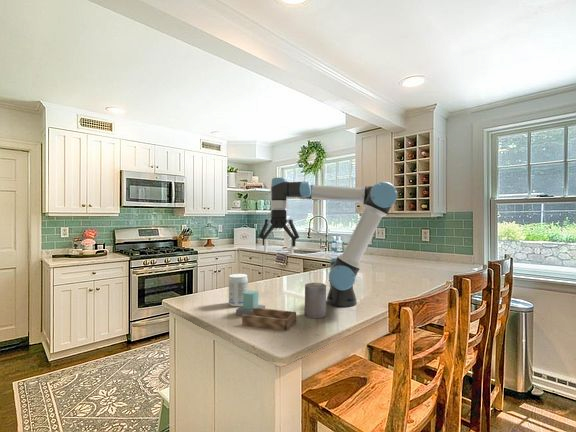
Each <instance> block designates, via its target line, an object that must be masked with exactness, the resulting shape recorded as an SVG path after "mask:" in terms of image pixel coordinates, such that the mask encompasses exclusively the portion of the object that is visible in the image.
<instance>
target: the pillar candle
mask: <svg viewBox="0 0 576 432" xmlns="http://www.w3.org/2000/svg"><path fill="white" fill-rule="evenodd" d="M326 315H327V285H326V284H325V283H322V282H316V281H315V282H308V283H305V284H304V316H305V317H306V318H309V319H322V318H325V317H326Z"/></svg>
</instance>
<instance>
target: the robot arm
mask: <svg viewBox="0 0 576 432" xmlns="http://www.w3.org/2000/svg"><path fill="white" fill-rule="evenodd" d="M270 185H271V186H270V190H271V192H270V195H271V202H270V203H271V204H270V208H271V210H270V211H271V212H270V213H271V214H270V215H271V216H270V217H271V218H270V219H268V218H267V219H264V224H263V226H262V228H261V230H260V232H259V235H258V237H259V238H261V239H262V246H264V247H263V248H264V249H263V253H268V252H269V249H268V247H269V245H268V243H269V242H268V237H269V236H270V234H272V232H273V231H274V230H275V229H283V230H284V231H285V233H286V234H287V235H288V236H289V237H290V241H289V242H290V243H289V244H290V245H289V247H290V248H289V249H290V250H289V251H290V252H289V253H290V254H291V255H292V254H294V250H295V249H294V247H296V241H297V239H300V236H299V235H300V234H299V233H298V231H297V229H296V227H295V225H294V220H293V219H291V218H290V219H287V208H288V207H287V206H288V205H287V201H288V200H287V198H298V199H300V200H318V201H319V200H320V201H328V202H329V201H334V202H345V203H346V202H347V203H356V204H357V203H358V204H361V205H362V206H363V207H364V210H363V213H362V214H361V217H360V218H359V220H358V222H357V223H356V226H355V228H354V230H353V233H352V235H350V238H349V240H348V243H347V244H346V247H345V248H344V250H343V252H342V254H340V255H337V257H336V258H335V257H332V258H331V259H330V261H329V265H330V266H329V273H328V281H329V282H330V285H329V289H328V292H327V295H326V304H328V305H330V306H335V307H343V308H345V307H346V308H347V307H353V306H355V305H357V297H356V293H355V291H354V284H355V282H356V277H357V275H358V273H359V271H360V269H361V265H360V262H361V259H362V258H363V256H364V254H365V252H366V250H367V248H368V246H369V245H370V242H371V240H372V238H373V236H374V234H375V232H376V230H377V228H378V227H379V224H380V222H381V220H382V218H384V217H386V216H388V214H389V213H390V210H391V208H392V206H393V205H394V204H395V203H396V201H397V200H398V190H397V189H396V187H395V185H394V184H392V183H390V182H388V181H380V182H377V183H375V184H374V185H371V186H370V185H369V186H368V185H367V186H366V185H363V186H362V187H351V186H334V185H332V186H331V185H322V184H321V185H320V184H317V185H315V184H312V183H311V182H310V181H287V178H286V177H273V178H272V179H271V184H270ZM269 224H271V225H270V227H269V228H268V226H269ZM287 224H288V225H289V226H290V229H291V230H290V229H289V227H288V226H287ZM267 229H268V230H267Z"/></svg>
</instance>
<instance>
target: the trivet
mask: <svg viewBox="0 0 576 432" xmlns="http://www.w3.org/2000/svg"><path fill="white" fill-rule="evenodd" d="M257 308H263V309H266V305H263V304H258V307H257ZM243 314H245V315H253V310H250V309H243V306H239V307H237V308H236V309H235V315H236V316H241V317H242V315H243Z"/></svg>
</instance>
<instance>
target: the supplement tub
mask: <svg viewBox="0 0 576 432" xmlns="http://www.w3.org/2000/svg"><path fill="white" fill-rule="evenodd" d="M248 280H249V279H248V275H247V273H234V274H230V275H228V305H229V306H231V307H237V308H239V307H241V306H243V293H245V292H247V291H249V288H248V287H249V286H248V284H249V282H248Z"/></svg>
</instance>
